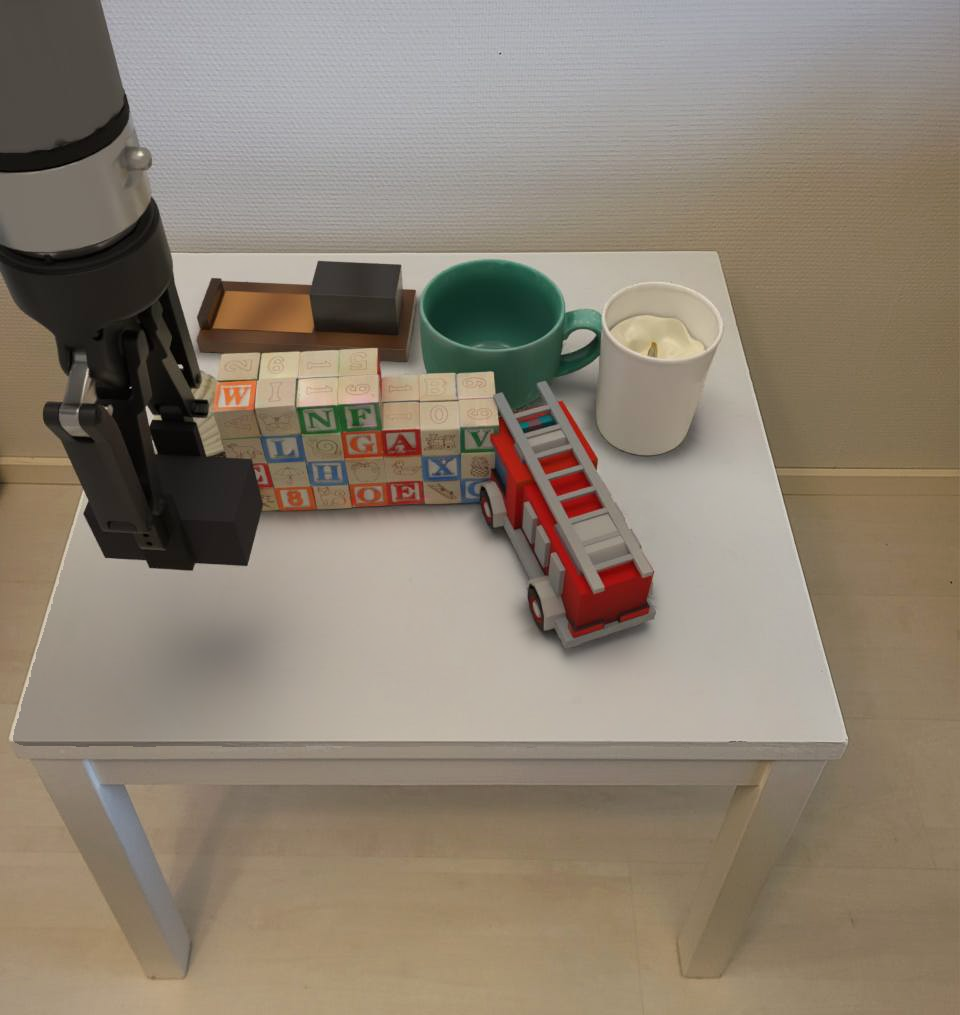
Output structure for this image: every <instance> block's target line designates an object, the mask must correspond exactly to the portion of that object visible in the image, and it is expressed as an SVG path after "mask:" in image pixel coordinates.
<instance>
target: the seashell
mask: <svg viewBox="0 0 960 1015" xmlns="http://www.w3.org/2000/svg"><path fill="white" fill-rule="evenodd" d="M200 372H201V376H202V383H201V385H200V388H199V389H192V391H191V392H192V394H193V395H194V397H195V399H203V400H208V403H209V412H208V416H207V418H193V420H194V422H196V423H197V426H198V430H199V433H200V436H201V440H202V443H203V446H204V450H205V453H206V456H207V457H213V456H215V455H218V454H221V453H225V451H224V449H223V445H222V442H221V439H220V437H221V436H220V433H219V430H218V427H217V424H216V421H215V418H214V415H213V403H214V396H215V390H216V385H217V383H218V382H217V377H215V376H213V375H212V374H209V373H206V372H205V371H203V370H202V369H200ZM152 420H162V419H161V416H157V415H153V418H152ZM151 437H152V436H151ZM152 441H153V439H152ZM153 447H154V452H155V454H158V453H157V450H156V447H155V445H154V443H153Z"/></svg>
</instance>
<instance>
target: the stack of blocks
mask: <svg viewBox="0 0 960 1015" xmlns="http://www.w3.org/2000/svg"><path fill="white" fill-rule="evenodd" d="M380 361H381V360H379V353H378V348H363V349H343V350H325V351H306V352H275V353H263V354H260V353H221V356H220V362H219V367H218V373H217V377H216V379H217V382H218V383H217V385H216V390H215V396H214V403H213V415H214V418H215V421H216V424H217V427H218V430H219V433H220V436H221V437H220V439H221V442H222V445H223V449H224V451H225V452H224V453H225V458H242V459H252V462H253V466H254V470H255V474H256V478H257V482H258V486H259V490H260V494H261V497H262V501H263V508H262V512H265V511H285V512H286V511H311V510H339V509H353V508H356V507H357V508H360V507H380V506H381V507H383V506H385V507H386V506H389V505H391V506H395V505H396V506H397V505H400V506H401V505H421V504H425V505H439V504H460V503H464V504H465V503H466V504H467V503H480V494H479V488H480V483H481V482H485V481H489V480H491V468H495V449H494V447H493V445H492V443H491V441H490V434H495V435H499V420H498V418H499V412H498V409H497V405H496V403H495V401H494V399H493V395H494V394H496V393H495V382H494V373H493V372H490V371H489V372H473V373H459V374H456V373H435V374H427V373H420V374H417V373H412V374H411V373H409V374H394V375H393V374H391V375H385V376H382V369H381V362H380Z"/></svg>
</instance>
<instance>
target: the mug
mask: <svg viewBox="0 0 960 1015" xmlns="http://www.w3.org/2000/svg"><path fill="white" fill-rule="evenodd" d="M418 311H419V313H418V314H419V332H420V333H419V335H420V336H419V337H420V346H421V355H422V360H423V365H424V369H425V372H426V374H435V373H456V374H459V373H473V372H489V371H490V372H493V373H494V382H495V393H496V394H498V393H503V395H504V396H505V398H506V400H507V402H508V404H509V406H510V408H511V410H512V411H513V410H517V409H520V408H523V407H524V406H527V405H528V404H529V405H530V404H531V403H532V402H534V401H536V400H537V399H539V397H541V394H540V392H539V391H538V389H537V383H539V382H543V381H546V382H547V384H548V386H549V387H550V386H551V385H552V383H553V381H554V380H555V379H556V378H561V377H565V376H568V375H571V374H574V373H577V372H578V371H580V370H582V369H584V368H586V367H587V366H589V365H590V364H592V363H593V362H595V361H596V359H598V358H600V344H601V329H602V323H601V315H602V313H600V312H599V311H597V310H594V309H591V308H579V309H575V310H574V309H573V310H570V311H567V312H566V302H565V297H564V295H563V293H562V291H561V290H560V288H559V287H558V285H557V284H556V283H555V282H554V281H553V280H552V279H551V278H550V277H549V276H547V275H546V274H544V273H543V272H541V271H540V270H538V269H536V268H534V267H532V266H529V265H527V264H523V263H520V262H517V261H513V260H507V259H499V258H498V259H497V258H482V259H481V258H480V259H474V260H468V261H464V262H460V263H458V264H457V263H456V264H454V265H451V266H450V267H447V268H446V269H443V270H442V271H440V272H439V273H438V274H436V275H435V276H434V277H432V278H431V279H430V281H429V282H428V283H426V285H425V287H424V288H423V290H422V292H421V294H420V298H419V310H418ZM578 330H588V331H590V332H592V333H594V334H595V336H594V338H593V339H592V340H591V341H589V343H587V344H585V345H584V346H583V347H581V348H579V349H577V350H574V351H571V352H567V353H562V351H563V346H564V341H567V340H568V339H569V337H570V336H571V334H572V333H573V332H576V331H578ZM497 409H498V407H497ZM498 413H500V411H499V409H498Z"/></svg>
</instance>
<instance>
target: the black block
mask: <svg viewBox="0 0 960 1015" xmlns="http://www.w3.org/2000/svg"><path fill="white" fill-rule="evenodd" d="M155 457H156V462H157V467H158V472H159V477H160V482H161V487H162V492H163V494H172V496H173V499H174V502H175V505H176V507H177V510H178V513H179V516H180V518H181V522H182V525H183V527H184V530H185V533H186V536H187V539H188V541H189V544H190V547H191V550H192V552H193V555H194V558H195V561H196V562H195V564H201V565H217V566H218V565H220V566H236V567H248V565H249V561H250V558H251V553H252V550H253V547H254V542H255V538H256V534H257V532H258V531H257V530H258V527H259V524H260V519H261V515H262V512H263V511H262V508H263V501H262V497H261V494H260V490H259V486H258V482H257V478H256V474H255V470H254V466H253V462H252V459H242V458H226V457H221V456H208V457H205V456H186V455H167V454H156V453H155ZM82 514H83V516H84V519H85V520H86V522H87V524H88V526H89V528H90V532H92V534H93V537H94V539H95V541H96V543H97V545H98V547H99V549H100V551H101V553H102V555H103V557H104V558H105V559H111V560H112V559H113V560H132V561H146V559H145V557H144V554H143V552H142V550H141V548H140V547H139V546H138V543H137V540H136V539H135V536H134V534H133V533H126V532H111V531H103V530H102V529H101V527H100V525H99V523H98V521H97V518H96V516H95V514H94V512H93V510H92V507H91V505H90V503H89V501H88V500H87V503H86V506H85V508H84V511H83V513H82Z"/></svg>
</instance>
